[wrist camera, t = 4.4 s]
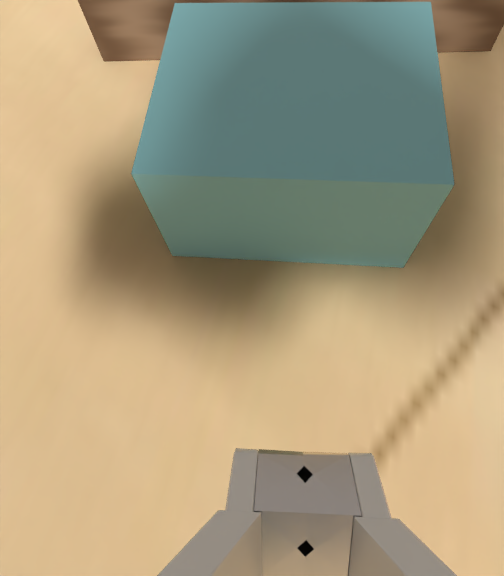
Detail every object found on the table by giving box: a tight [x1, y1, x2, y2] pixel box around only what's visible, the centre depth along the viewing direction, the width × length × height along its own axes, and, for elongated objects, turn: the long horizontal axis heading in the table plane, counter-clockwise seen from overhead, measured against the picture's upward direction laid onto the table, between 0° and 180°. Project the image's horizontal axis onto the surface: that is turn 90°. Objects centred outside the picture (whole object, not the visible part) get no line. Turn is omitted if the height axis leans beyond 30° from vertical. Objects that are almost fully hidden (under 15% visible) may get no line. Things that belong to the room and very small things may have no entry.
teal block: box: [131, 2, 454, 268], centre depth 24 cm, size 14×12×8 cm
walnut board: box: [78, 0, 504, 61], centre depth 30 cm, size 30×3×5 cm, turn 88°
